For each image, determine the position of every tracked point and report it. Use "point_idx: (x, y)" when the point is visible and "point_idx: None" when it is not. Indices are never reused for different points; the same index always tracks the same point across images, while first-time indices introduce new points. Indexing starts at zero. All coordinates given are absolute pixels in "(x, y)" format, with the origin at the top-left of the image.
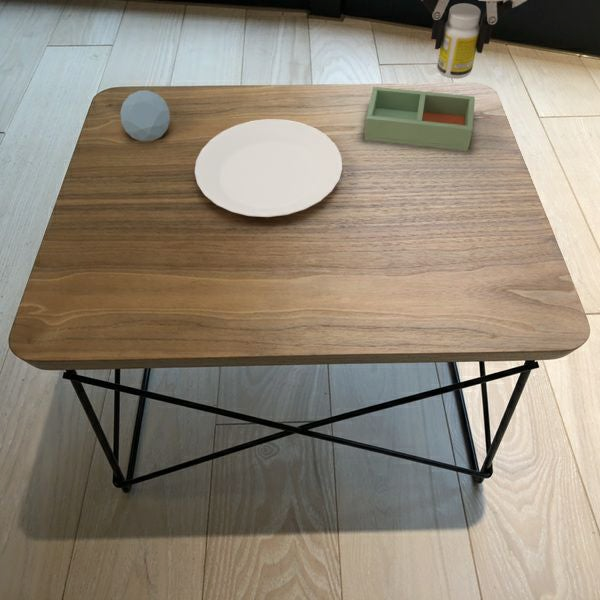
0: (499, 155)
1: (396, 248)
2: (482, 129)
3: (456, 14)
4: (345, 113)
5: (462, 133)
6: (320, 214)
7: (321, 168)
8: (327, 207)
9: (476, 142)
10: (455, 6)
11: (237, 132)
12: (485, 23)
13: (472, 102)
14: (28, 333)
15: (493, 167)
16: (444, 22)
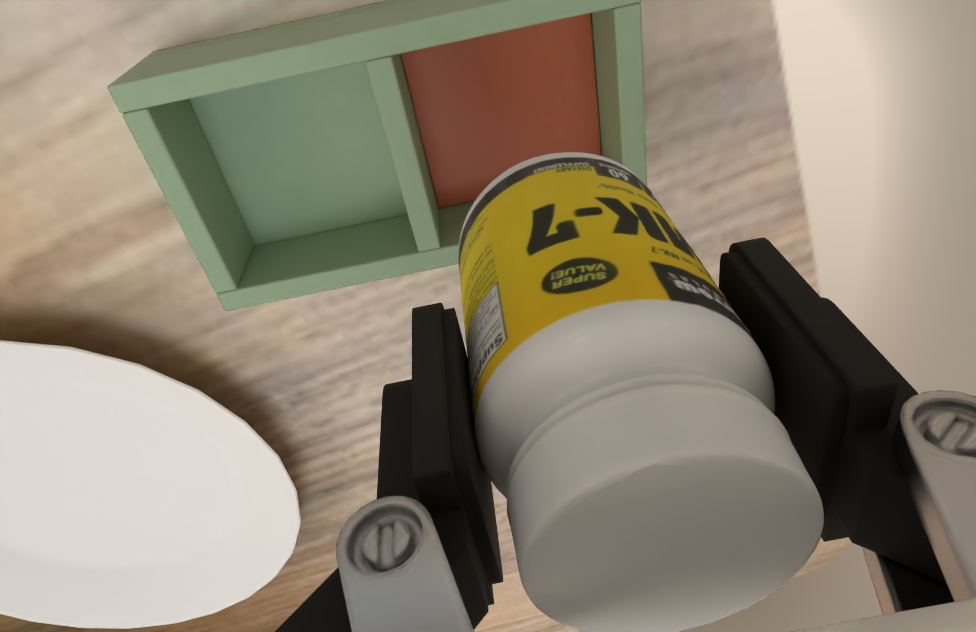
0: (732, 154)
1: (503, 527)
2: (667, 14)
3: (599, 617)
4: (72, 129)
5: None
6: (303, 518)
7: (211, 432)
8: (305, 499)
9: (647, 112)
10: (568, 537)
11: None
12: (838, 524)
13: (633, 36)
14: None
15: (710, 221)
16: (501, 581)
